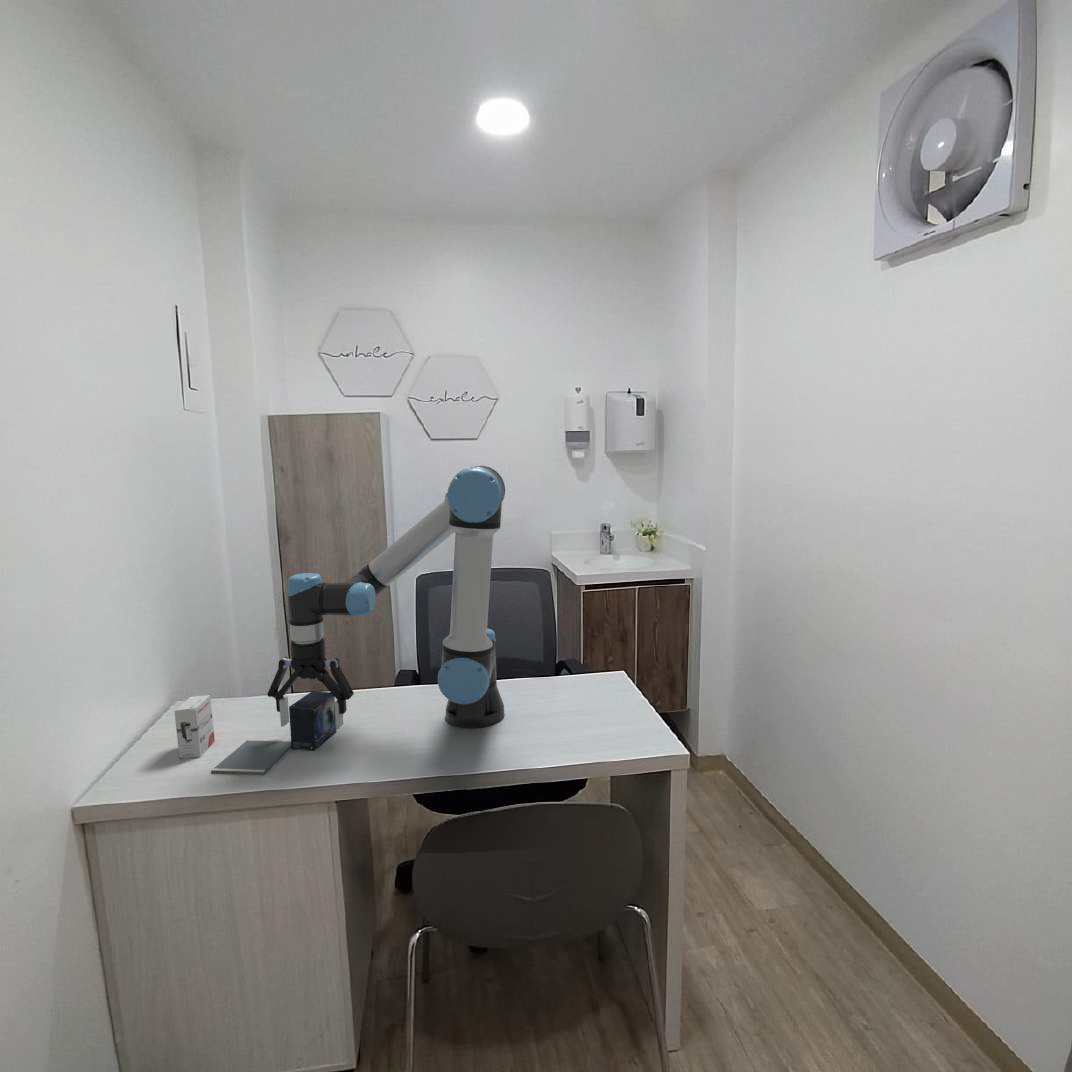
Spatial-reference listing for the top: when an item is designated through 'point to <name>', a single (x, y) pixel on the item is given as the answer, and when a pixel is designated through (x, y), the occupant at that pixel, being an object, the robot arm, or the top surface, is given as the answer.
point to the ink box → (194, 726)
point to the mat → (253, 757)
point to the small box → (312, 720)
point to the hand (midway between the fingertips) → (312, 725)
